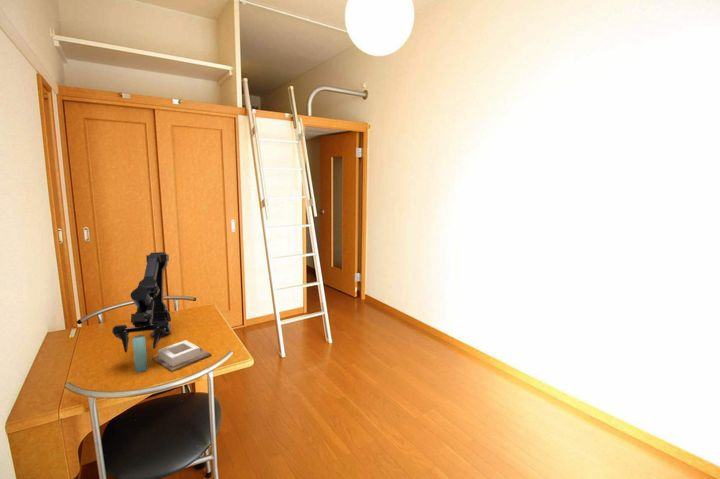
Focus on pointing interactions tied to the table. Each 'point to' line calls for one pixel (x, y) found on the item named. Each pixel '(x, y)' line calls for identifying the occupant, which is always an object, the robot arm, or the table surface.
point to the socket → (179, 353)
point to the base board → (202, 356)
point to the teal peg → (140, 353)
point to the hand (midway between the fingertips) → (139, 350)
